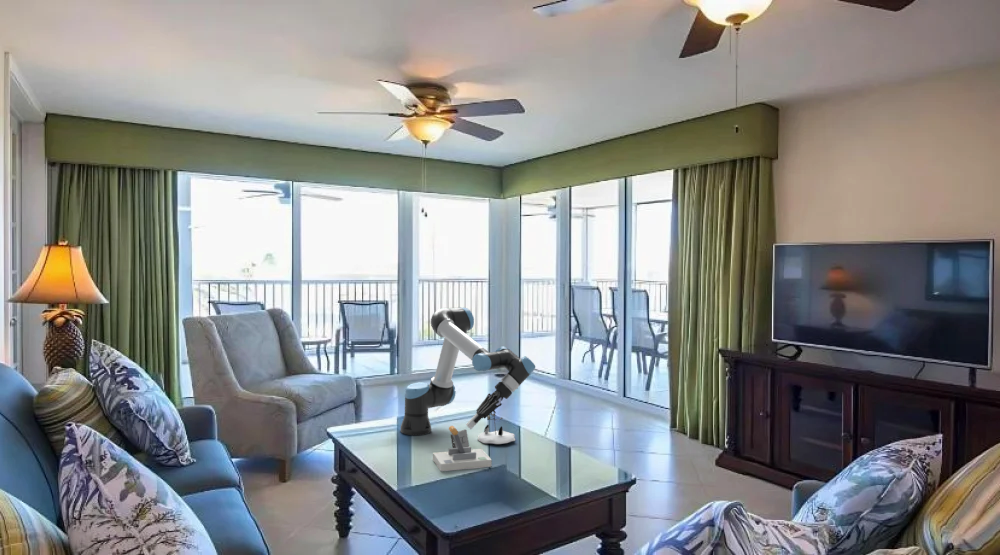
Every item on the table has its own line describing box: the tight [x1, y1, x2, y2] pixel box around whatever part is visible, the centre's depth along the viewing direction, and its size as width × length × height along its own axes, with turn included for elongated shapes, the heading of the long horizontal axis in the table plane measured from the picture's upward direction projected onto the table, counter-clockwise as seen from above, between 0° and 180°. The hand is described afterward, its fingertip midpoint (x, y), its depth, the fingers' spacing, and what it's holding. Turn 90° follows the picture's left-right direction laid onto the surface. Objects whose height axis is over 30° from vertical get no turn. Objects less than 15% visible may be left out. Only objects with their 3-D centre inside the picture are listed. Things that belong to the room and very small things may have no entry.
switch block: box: [432, 446, 493, 472], centre depth 249 cm, size 14×22×5 cm, turn 110°
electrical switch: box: [450, 429, 470, 448], centre depth 267 cm, size 8×5×8 cm, turn 141°
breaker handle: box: [448, 425, 465, 453], centre depth 248 cm, size 6×2×13 cm, turn 20°
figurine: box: [477, 410, 516, 445], centre depth 282 cm, size 20×18×16 cm
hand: (468, 427), depth 248 cm, fingers closed
